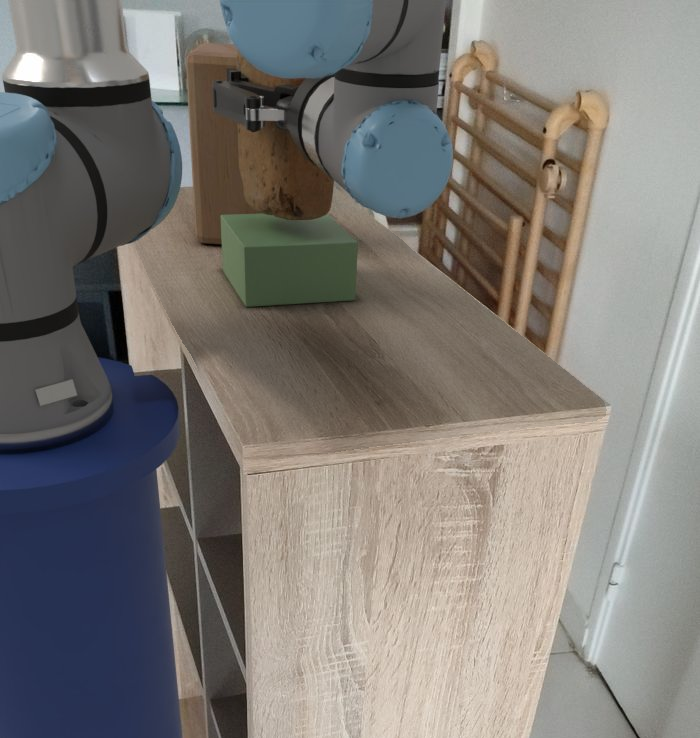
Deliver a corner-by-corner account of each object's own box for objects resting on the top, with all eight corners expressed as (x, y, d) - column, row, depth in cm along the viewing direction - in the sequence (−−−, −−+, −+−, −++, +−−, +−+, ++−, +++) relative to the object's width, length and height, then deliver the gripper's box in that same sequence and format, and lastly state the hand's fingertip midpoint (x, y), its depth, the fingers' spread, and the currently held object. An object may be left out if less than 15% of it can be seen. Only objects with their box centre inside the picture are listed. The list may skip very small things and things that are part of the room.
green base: (245, 307, 93) (244, 247, 89) (222, 270, 102) (220, 214, 98) (355, 300, 96) (358, 242, 92) (323, 265, 105) (325, 211, 101)
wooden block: (194, 245, 109) (183, 51, 96) (207, 223, 116) (199, 41, 104) (276, 250, 109) (276, 57, 96) (284, 227, 116) (284, 46, 104)
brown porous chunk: (234, 202, 96) (227, -28, 84) (295, 196, 99) (297, -26, 87) (281, 227, 89) (281, -20, 77) (345, 220, 92) (356, -18, 80)
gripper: (217, 179, 73) (173, 126, 90) (457, 172, 79) (374, 124, 96) (212, 73, 69) (167, 38, 85) (467, 74, 74) (378, 41, 91)
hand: (276, 83), depth 91 cm, fingers closed on brown porous chunk, 9 cm apart
